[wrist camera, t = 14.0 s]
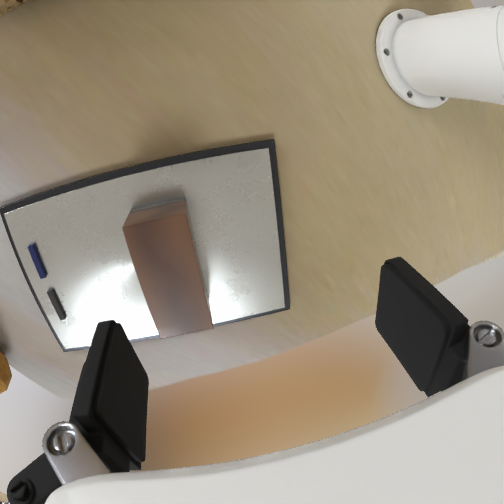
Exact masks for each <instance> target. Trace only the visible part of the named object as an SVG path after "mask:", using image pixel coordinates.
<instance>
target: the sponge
mask: <svg viewBox="0 0 504 504" xmlns="http://www.w3.org/2000/svg"><path fill="white" fill-rule="evenodd" d="M26 1H27V0H0V17H1V16H3V15H5V14H7V13H8V12H10V11H11V10H13V9H15V8H16V7H17V6H19V5H21V4H23V3H24V2H26Z"/></svg>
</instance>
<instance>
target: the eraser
mask: <svg viewBox="0 0 504 504" xmlns="http://www.w3.org/2000/svg"><path fill="white" fill-rule="evenodd" d="M122 230H123V233H124V236H125V240H126V243H127V246H128V249H129V253H130V256H131V259H132V262H133V265H134V268H135V271H136V274H137V277H138V280H139V283H140V286H141V289H142V292H143V294H144V297H145V300H146V303H147V305H148V308H149V311H150V314H151V316H152V319H153V321H154V324H155V327H156V329H157V332H158V334H159V337H160V339H162V338H168V337H173V336H178V335H184V334H189V333H194V332H199V331H204V330H209V329H213V328H214V327H213V321H212V315H211V309H210V303H209V298H208V294H207V290H206V286H205V282H204V277H203V273H202V269H201V264H200V260H199V256H198V251H197V247H196V242H195V238H194V233H193V229H192V224H191V219H190V215H189V210H188V205H187V200H186V197H183V198H178V199H174V200H169V201H165V202H160V203H156V204H151V205H147V206H142V207H138V208H134V209H131V210H130V212H129V214H128V216H127V218H126V220H125V223H124V225H123V227H122Z"/></svg>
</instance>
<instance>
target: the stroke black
mask: <svg viewBox="0 0 504 504" xmlns="http://www.w3.org/2000/svg"><path fill="white" fill-rule="evenodd" d="M47 294H48V296H49V299H50V301H51V303H52V305H53V307H54V309H55V311H56V313H57V315H58V317H59V319H60V320H65V319H66V315H65V313H64V311H63V309H62V307H61V305H60V303H59V301H58V299H57V297H56V295H55V292H54V290H53V289H51V290H48V291H47Z"/></svg>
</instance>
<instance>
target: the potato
mask: <svg viewBox="0 0 504 504" xmlns="http://www.w3.org/2000/svg"><path fill="white" fill-rule="evenodd" d="M11 377H12V374H11V370H10V367H9V364H8V361H7V358H6V357H5V356H4V355H3V354H2V352H1V351H0V393H2V392H4V391H6V390H7V388H8V385H9V383H10V380H11Z"/></svg>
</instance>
